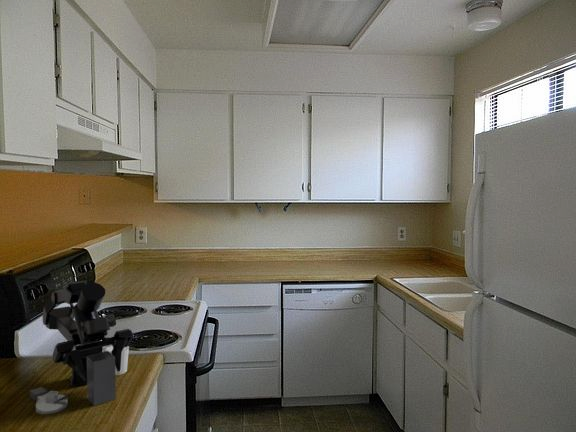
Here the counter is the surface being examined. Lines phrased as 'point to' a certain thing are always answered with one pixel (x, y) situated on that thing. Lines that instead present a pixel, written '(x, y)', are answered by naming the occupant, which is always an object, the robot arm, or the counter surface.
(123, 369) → the white tapered cup
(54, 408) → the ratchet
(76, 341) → the robot arm
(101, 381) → the dark grey square block
